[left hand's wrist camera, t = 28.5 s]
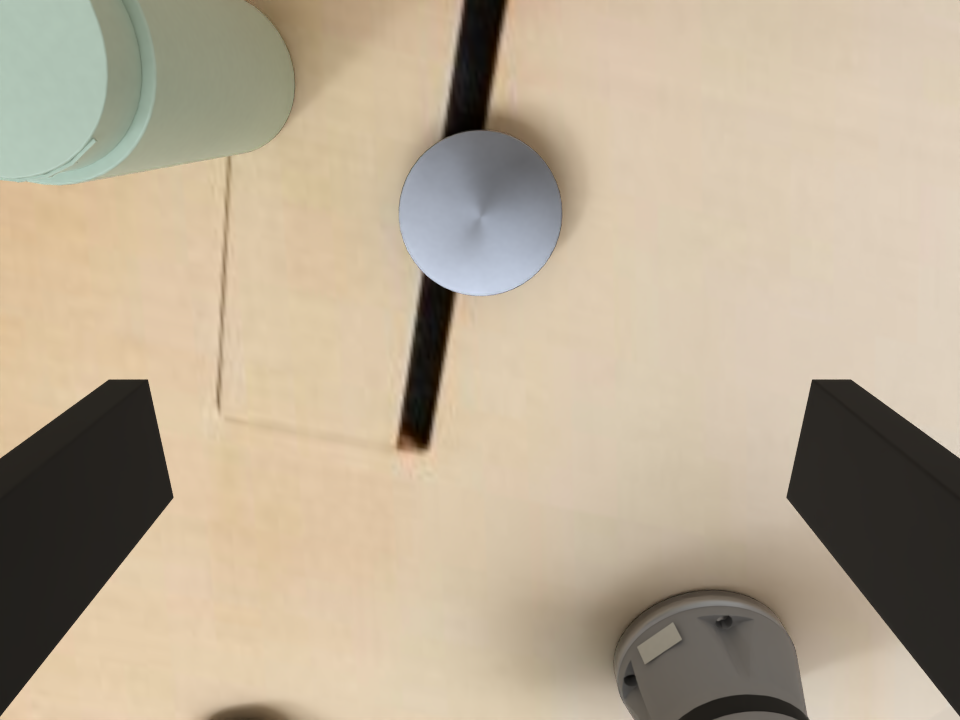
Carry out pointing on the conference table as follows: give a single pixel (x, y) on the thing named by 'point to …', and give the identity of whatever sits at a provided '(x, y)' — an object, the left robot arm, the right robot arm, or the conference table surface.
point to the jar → (135, 86)
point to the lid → (480, 212)
